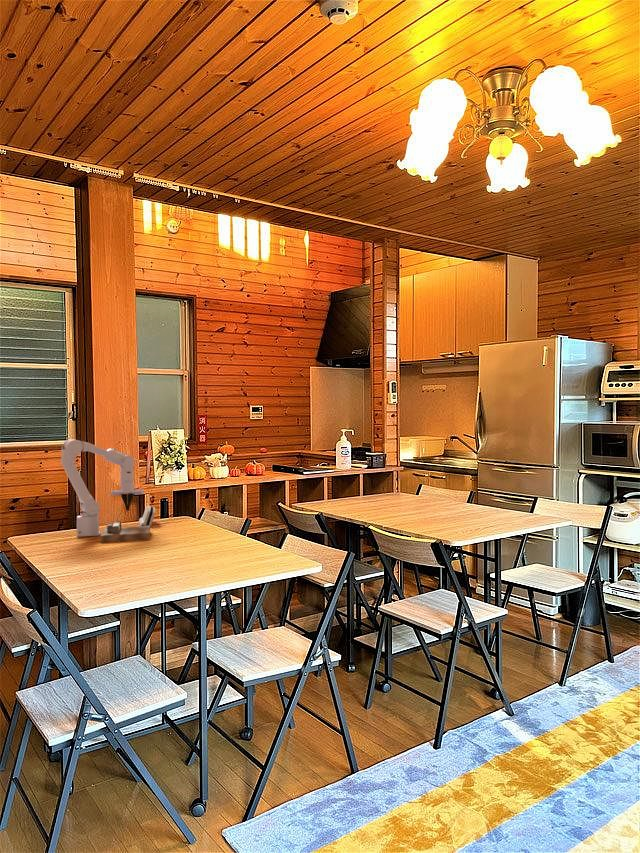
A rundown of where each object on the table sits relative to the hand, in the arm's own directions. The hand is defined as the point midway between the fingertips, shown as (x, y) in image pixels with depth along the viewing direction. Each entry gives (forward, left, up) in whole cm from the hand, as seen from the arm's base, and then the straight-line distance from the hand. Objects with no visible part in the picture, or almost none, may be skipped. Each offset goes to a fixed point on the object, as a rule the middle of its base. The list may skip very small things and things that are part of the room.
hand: (127, 510), depth 307 cm
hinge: (+8, +15, -10) cm, 20 cm away
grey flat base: (0, -17, -9) cm, 19 cm away
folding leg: (-4, -16, -6) cm, 18 cm away
